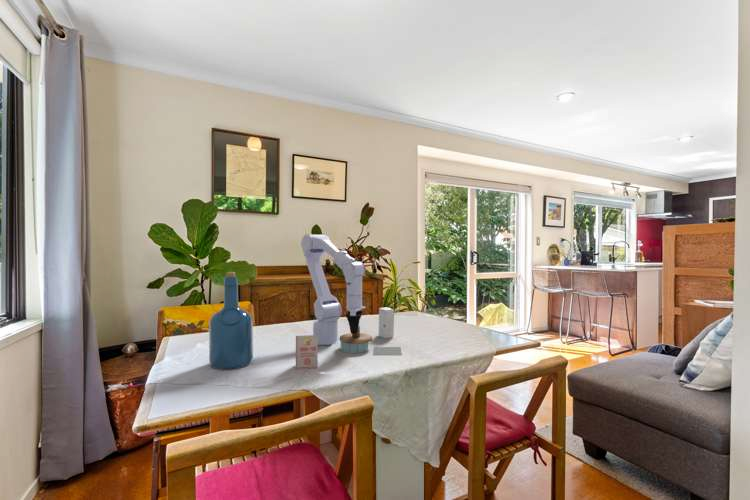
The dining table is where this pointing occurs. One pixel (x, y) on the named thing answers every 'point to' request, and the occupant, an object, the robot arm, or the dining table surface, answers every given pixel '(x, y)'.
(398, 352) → the mat
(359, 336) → the lid
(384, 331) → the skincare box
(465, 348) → the dining table surface
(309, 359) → the beige printed carton
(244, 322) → the wine bottle
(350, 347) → the bowl
